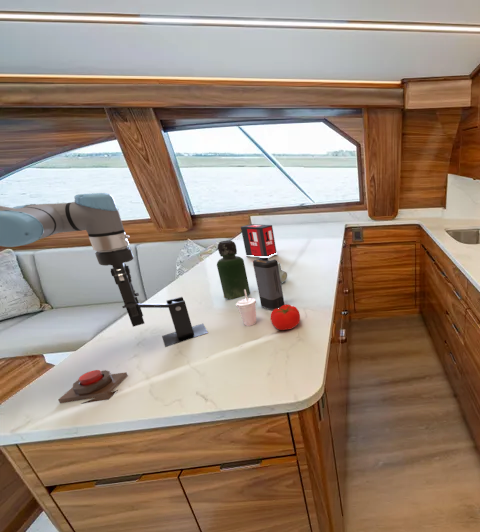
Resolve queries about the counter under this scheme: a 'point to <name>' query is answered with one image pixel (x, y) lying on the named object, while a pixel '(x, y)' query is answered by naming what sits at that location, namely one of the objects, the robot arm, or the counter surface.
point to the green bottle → (232, 271)
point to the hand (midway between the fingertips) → (138, 320)
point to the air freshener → (282, 273)
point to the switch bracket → (181, 324)
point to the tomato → (285, 317)
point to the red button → (90, 377)
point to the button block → (94, 388)
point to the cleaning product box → (258, 240)
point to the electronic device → (268, 283)
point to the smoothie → (247, 310)
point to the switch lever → (155, 305)
